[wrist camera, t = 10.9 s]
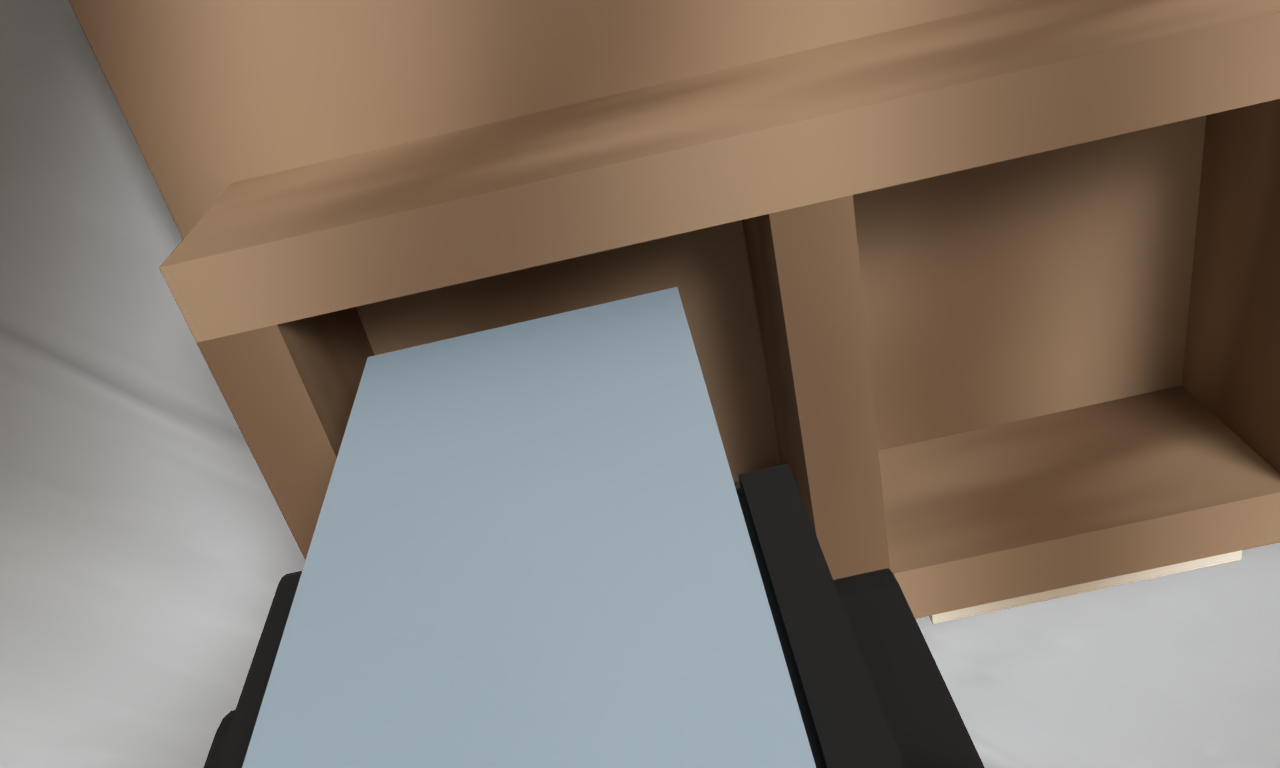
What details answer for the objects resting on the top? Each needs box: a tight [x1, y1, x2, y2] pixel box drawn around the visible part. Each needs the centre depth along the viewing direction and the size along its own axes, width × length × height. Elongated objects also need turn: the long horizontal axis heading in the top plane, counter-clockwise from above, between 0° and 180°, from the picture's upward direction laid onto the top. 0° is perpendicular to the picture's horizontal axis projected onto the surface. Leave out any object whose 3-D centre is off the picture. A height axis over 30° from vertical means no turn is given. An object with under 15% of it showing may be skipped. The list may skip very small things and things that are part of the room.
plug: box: [242, 287, 816, 768], centre depth 9 cm, size 4×4×10 cm
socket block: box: [69, 0, 1280, 624], centre depth 15 cm, size 24×14×4 cm, turn 102°
